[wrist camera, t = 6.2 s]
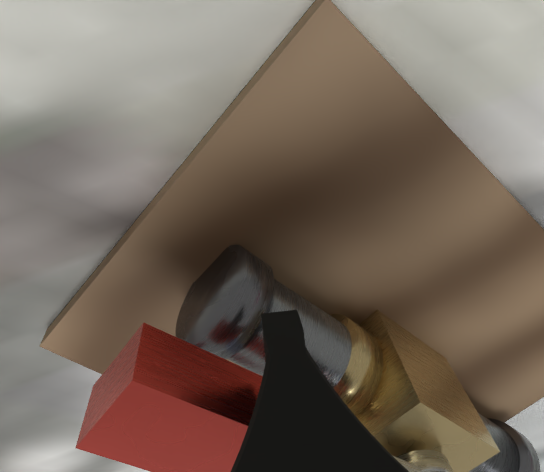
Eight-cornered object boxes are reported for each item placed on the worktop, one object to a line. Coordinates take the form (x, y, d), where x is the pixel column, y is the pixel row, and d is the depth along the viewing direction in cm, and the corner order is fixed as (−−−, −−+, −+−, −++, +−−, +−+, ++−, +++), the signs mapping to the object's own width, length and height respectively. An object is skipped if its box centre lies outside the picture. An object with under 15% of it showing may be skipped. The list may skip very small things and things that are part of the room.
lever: (463, 463, 16) (492, 522, 14) (410, 499, 17) (432, 559, 15) (144, 316, 11) (132, 380, 9) (95, 379, 12) (75, 448, 10)
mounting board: (623, 318, 22) (640, 333, 21) (379, 483, 27) (385, 500, 26) (319, -6, 13) (327, -3, 12) (47, 328, 18) (39, 346, 18)
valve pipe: (518, 407, 23) (584, 503, 19) (446, 455, 25) (492, 553, 21) (251, 216, 16) (264, 306, 12) (171, 302, 18) (158, 407, 13)
